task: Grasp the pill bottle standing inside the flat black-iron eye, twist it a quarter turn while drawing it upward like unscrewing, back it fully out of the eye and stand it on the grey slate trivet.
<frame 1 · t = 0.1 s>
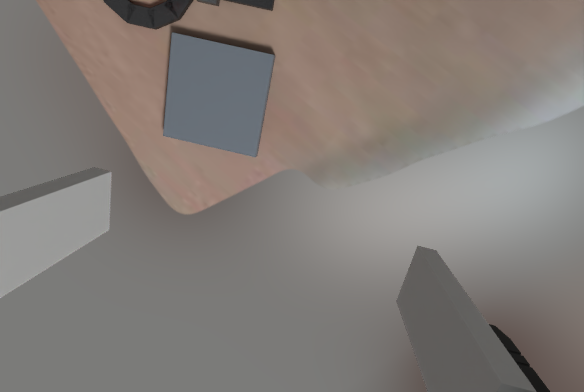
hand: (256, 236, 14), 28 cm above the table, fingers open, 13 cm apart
slate trivet: (218, 97, 39), on the table
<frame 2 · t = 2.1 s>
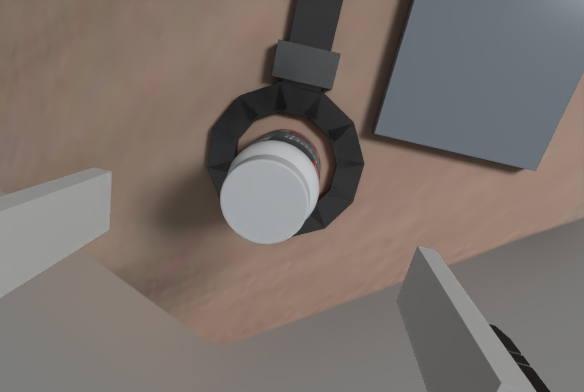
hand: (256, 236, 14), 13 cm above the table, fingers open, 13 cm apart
iron eye: (284, 164, 26), on the table
slate trivet: (481, 66, 23), on the table
pill bottle: (285, 163, 26), resting in iron eye
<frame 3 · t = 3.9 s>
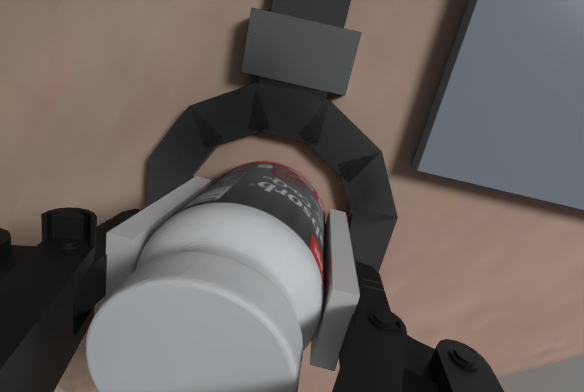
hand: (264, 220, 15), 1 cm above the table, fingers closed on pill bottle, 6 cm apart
iron eye: (267, 214, 16), on the table
pill bottle: (268, 212, 16), resting in iron eye, touching gripper
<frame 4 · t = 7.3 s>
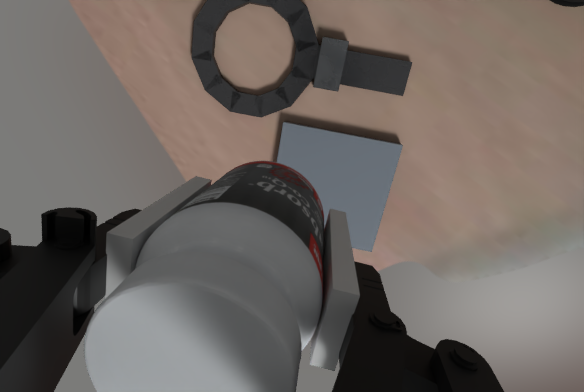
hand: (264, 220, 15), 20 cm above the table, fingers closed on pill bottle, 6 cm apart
iron eye: (254, 51, 31), on the table
slate trivet: (329, 187, 35), on the table
pill bottle: (267, 212, 16), point 19 cm above the table, touching gripper
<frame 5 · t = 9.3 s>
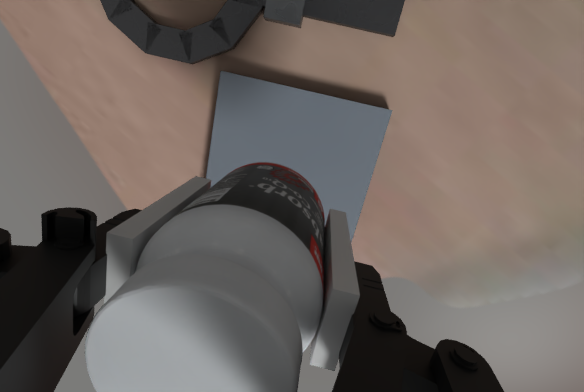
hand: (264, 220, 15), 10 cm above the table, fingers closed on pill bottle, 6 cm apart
slate trivet: (288, 170, 25), on the table
pill bottle: (268, 213, 16), point 9 cm above the table, touching gripper
when the fingers open (4 cm above the table, at t = 10.8 s): pill bottle drops 2 cm, resting on slate trivet.
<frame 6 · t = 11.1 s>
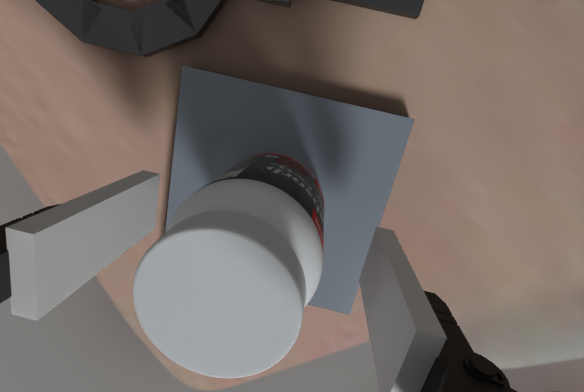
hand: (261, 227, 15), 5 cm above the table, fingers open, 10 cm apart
slate trivet: (276, 196, 19), on the table
pill bottle: (273, 200, 18), point 1 cm above the table, touching slate trivet
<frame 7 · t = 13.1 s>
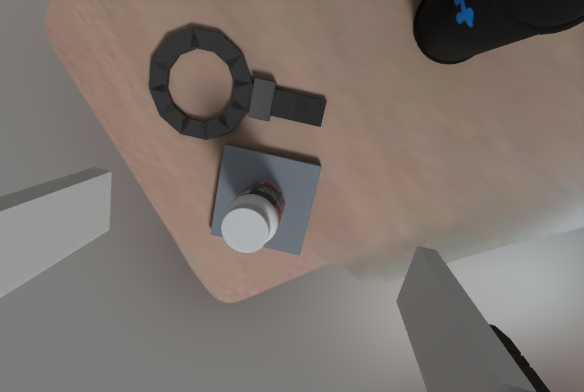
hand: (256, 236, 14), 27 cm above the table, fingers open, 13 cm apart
aerosol can: (452, 23, 34), on the table
iron eye: (201, 86, 38), on the table
slate trivet: (264, 199, 41), on the table
pill bottle: (263, 201, 41), point 1 cm above the table, touching slate trivet
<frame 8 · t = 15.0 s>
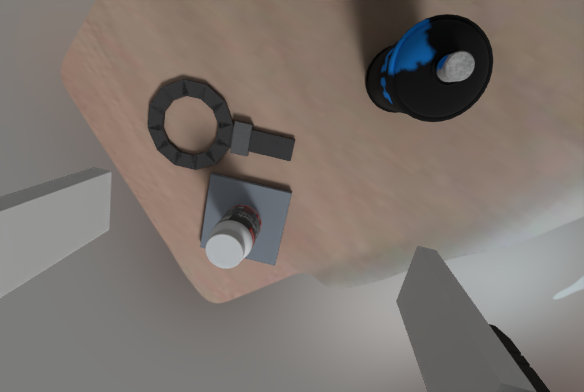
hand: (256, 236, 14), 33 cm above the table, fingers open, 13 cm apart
aerosol can: (397, 79, 41), on the table
iron eye: (191, 126, 46), on the table
slate trivet: (245, 219, 49), on the table
pill bottle: (243, 220, 48), point 1 cm above the table, touching slate trivet
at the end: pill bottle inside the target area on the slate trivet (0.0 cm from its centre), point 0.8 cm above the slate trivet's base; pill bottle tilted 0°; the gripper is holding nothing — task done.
